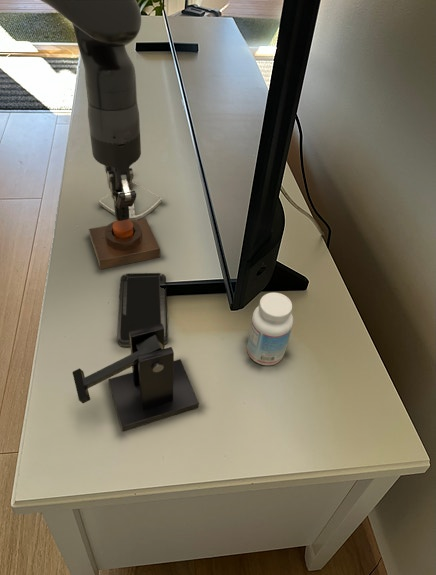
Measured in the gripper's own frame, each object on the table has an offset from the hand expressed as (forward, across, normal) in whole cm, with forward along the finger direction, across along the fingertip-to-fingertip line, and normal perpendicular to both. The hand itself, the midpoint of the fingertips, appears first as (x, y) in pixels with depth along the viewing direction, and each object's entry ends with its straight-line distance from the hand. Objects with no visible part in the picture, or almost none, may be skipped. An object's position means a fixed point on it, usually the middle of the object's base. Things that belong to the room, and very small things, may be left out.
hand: (122, 217), depth 88 cm
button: (+3, 0, 0) cm, 3 cm away
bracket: (+7, +32, -4) cm, 33 cm away
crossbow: (+7, -15, +5) cm, 17 cm away
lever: (-1, +32, -8) cm, 33 cm away
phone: (+7, +16, -1) cm, 18 cm away
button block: (+7, 0, 0) cm, 7 cm away
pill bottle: (+7, +30, +15) cm, 34 cm away
